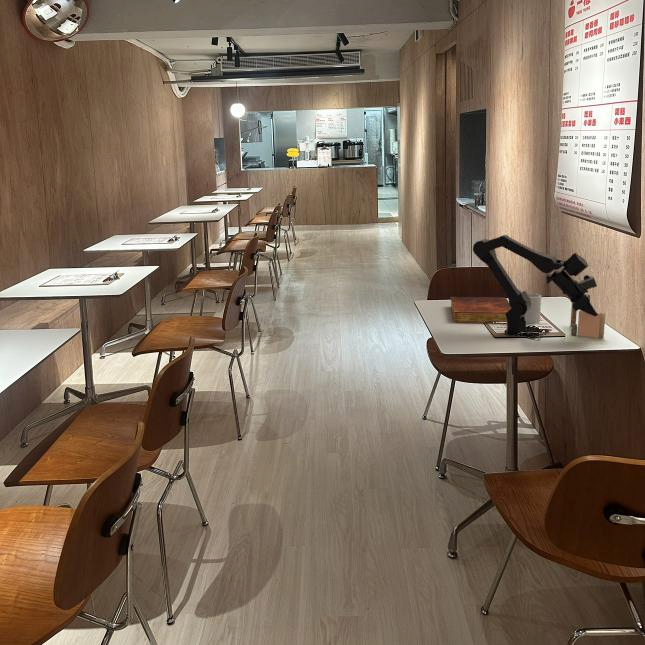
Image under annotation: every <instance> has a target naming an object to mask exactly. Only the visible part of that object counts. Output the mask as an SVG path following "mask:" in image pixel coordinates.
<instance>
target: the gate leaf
mask: <svg viewBox="0 0 645 645" xmlns="http://www.w3.org/2000/svg"><path fill="white" fill-rule="evenodd" d="M577 320H578V321H577V327H578V332H577V335H582V336H589V337H597V338H604V339H605V337H604V336H605V323H606V312H597V316H593V315H591V314H588V313H586V312H584V311H581V310H578V319H577Z"/></svg>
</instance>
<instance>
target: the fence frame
mask: <svg viewBox="0 0 645 645" xmlns="http://www.w3.org/2000/svg"><path fill="white" fill-rule="evenodd" d="M570 312H571V313H570V324H569V326H570V327H571V335H572V336H576V335H577V327H578V323H577V315H578V314H577V313H578V311H575V310H574V309H573V303H572V302H571V311H570Z"/></svg>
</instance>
